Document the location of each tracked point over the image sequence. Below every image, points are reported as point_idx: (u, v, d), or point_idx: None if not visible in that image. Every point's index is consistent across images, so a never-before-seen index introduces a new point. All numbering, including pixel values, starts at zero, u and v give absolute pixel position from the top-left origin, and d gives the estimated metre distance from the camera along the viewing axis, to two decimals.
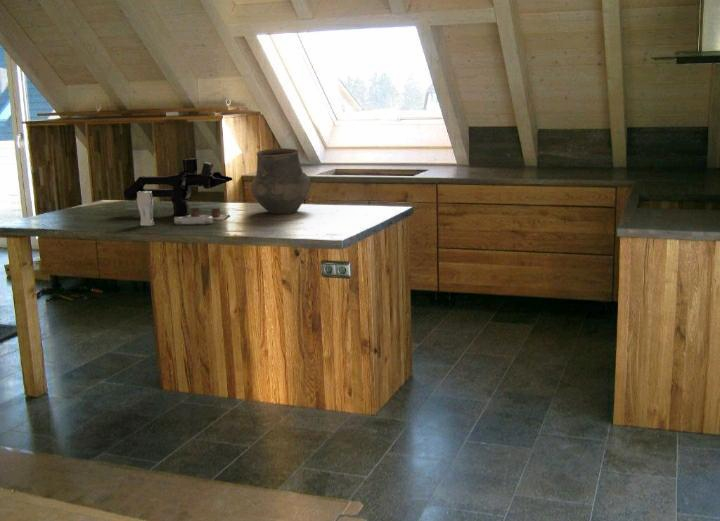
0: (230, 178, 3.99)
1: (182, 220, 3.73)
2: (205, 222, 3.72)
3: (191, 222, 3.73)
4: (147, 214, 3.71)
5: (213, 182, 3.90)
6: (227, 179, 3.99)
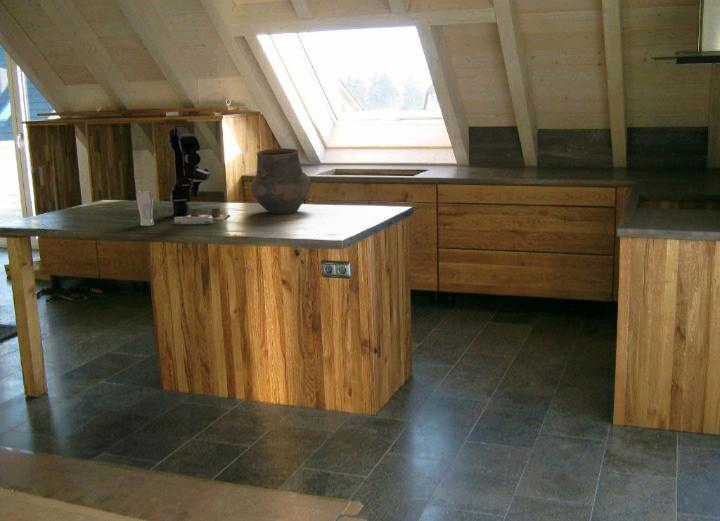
0: (195, 195, 3.76)
1: (182, 220, 3.73)
2: (205, 222, 3.72)
3: (191, 222, 3.73)
4: (147, 214, 3.71)
5: (185, 187, 3.65)
6: (194, 191, 3.76)
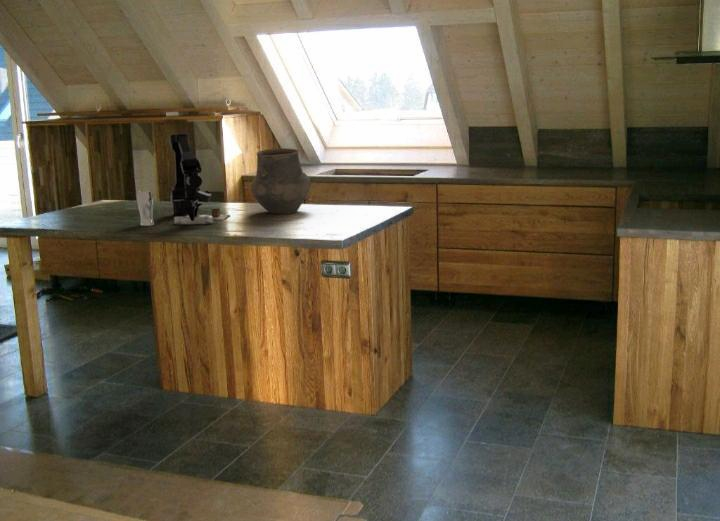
0: None
1: (182, 220, 3.73)
2: (205, 222, 3.72)
3: (191, 222, 3.73)
4: (147, 214, 3.71)
5: (189, 208, 3.70)
6: (193, 214, 3.75)
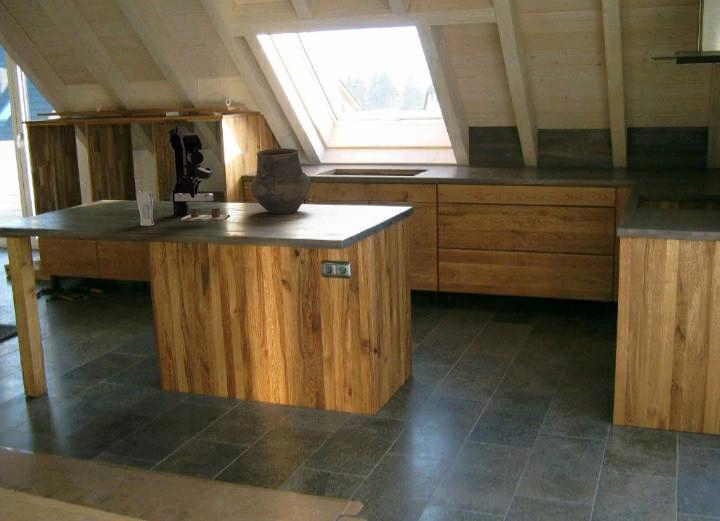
0: None
1: (182, 197, 3.74)
2: (205, 199, 3.72)
3: (192, 199, 3.73)
4: (147, 214, 3.71)
5: (189, 185, 3.70)
6: None
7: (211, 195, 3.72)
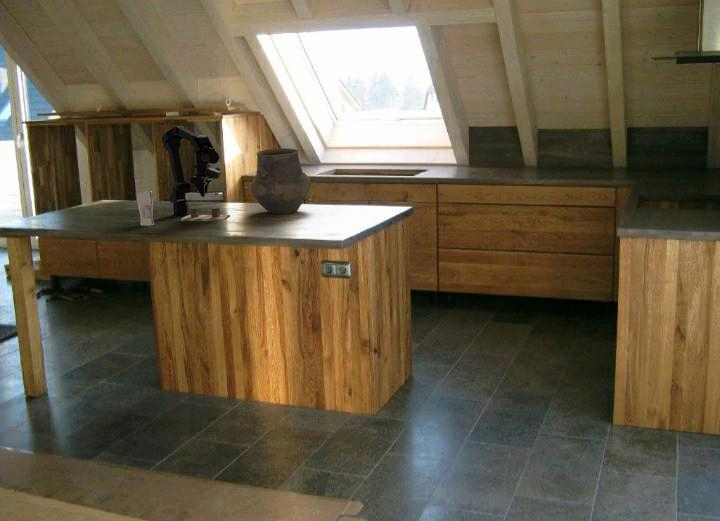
0: None
1: (193, 196, 3.84)
2: (215, 198, 3.82)
3: (202, 198, 3.83)
4: (147, 214, 3.71)
5: (200, 184, 3.81)
6: None
7: (221, 194, 3.82)
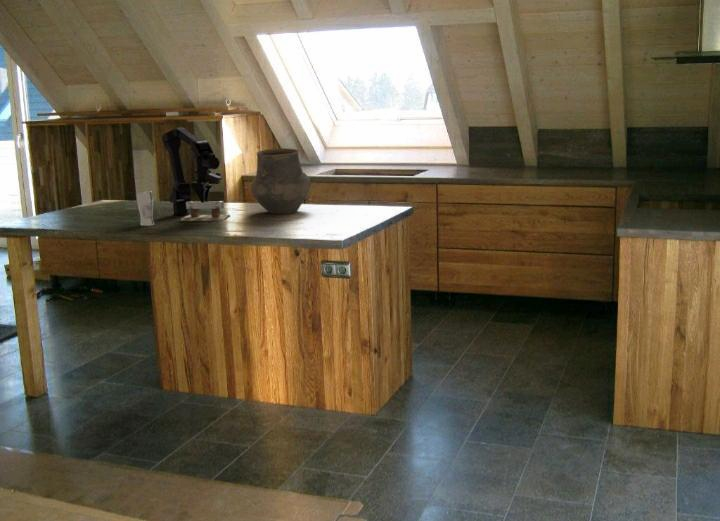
0: (206, 199, 3.87)
1: (193, 205, 3.85)
2: (216, 206, 3.83)
3: (203, 206, 3.84)
4: (147, 214, 3.71)
5: (199, 190, 3.80)
6: (205, 195, 3.87)
7: (221, 203, 3.83)
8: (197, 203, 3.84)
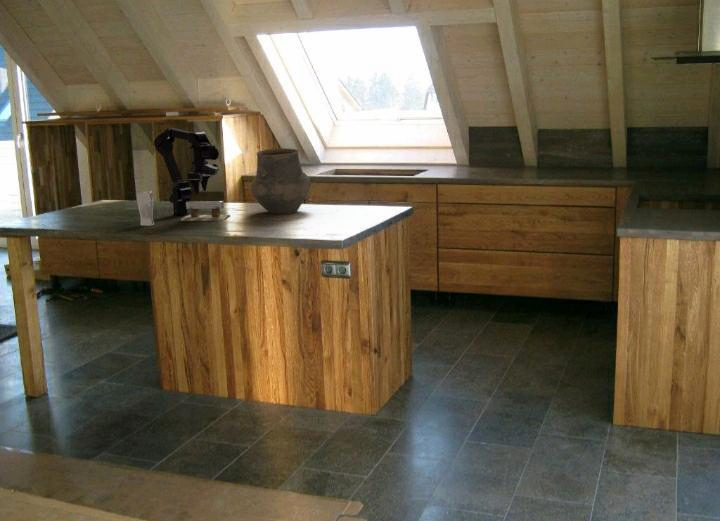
0: (204, 189, 3.94)
1: (193, 205, 3.85)
2: (216, 206, 3.83)
3: (203, 206, 3.84)
4: (147, 214, 3.71)
5: (194, 181, 3.84)
6: (203, 185, 3.94)
7: (221, 203, 3.83)
8: (197, 203, 3.84)
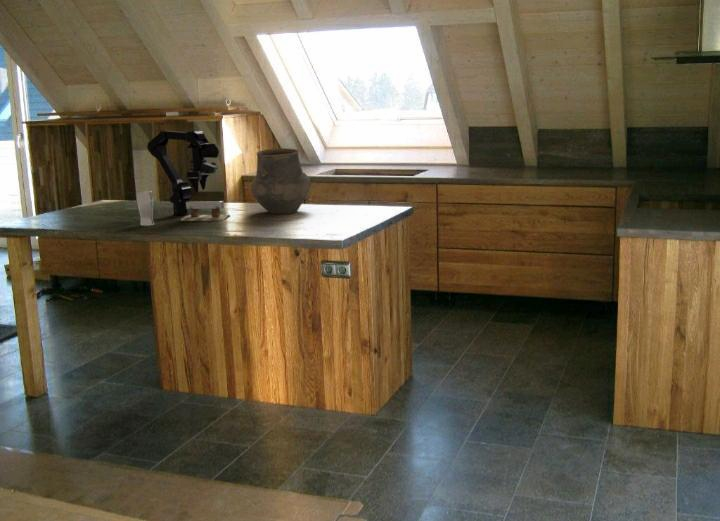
0: (203, 187, 3.98)
1: (193, 205, 3.85)
2: (216, 206, 3.83)
3: (203, 206, 3.84)
4: (147, 214, 3.71)
5: (194, 179, 3.87)
6: (202, 184, 3.98)
7: (221, 203, 3.83)
8: (197, 203, 3.84)
